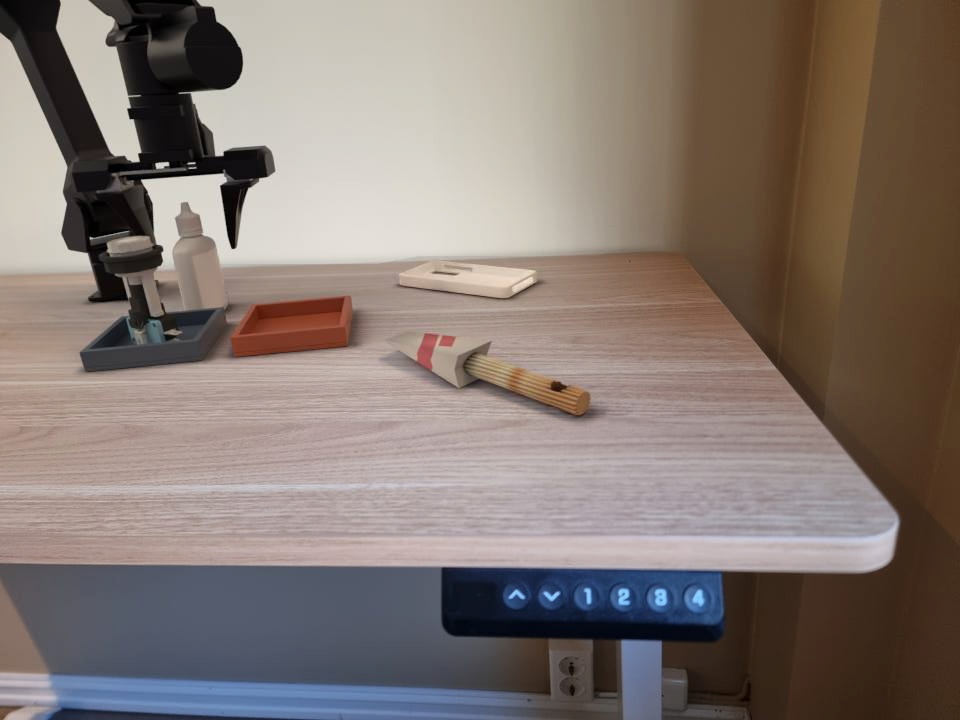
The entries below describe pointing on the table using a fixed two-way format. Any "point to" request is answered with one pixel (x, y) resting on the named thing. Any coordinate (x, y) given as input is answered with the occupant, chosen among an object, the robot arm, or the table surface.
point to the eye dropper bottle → (197, 264)
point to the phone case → (469, 279)
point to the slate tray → (122, 353)
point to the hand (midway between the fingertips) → (194, 251)
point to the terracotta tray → (294, 326)
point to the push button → (141, 288)
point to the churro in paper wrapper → (485, 368)
